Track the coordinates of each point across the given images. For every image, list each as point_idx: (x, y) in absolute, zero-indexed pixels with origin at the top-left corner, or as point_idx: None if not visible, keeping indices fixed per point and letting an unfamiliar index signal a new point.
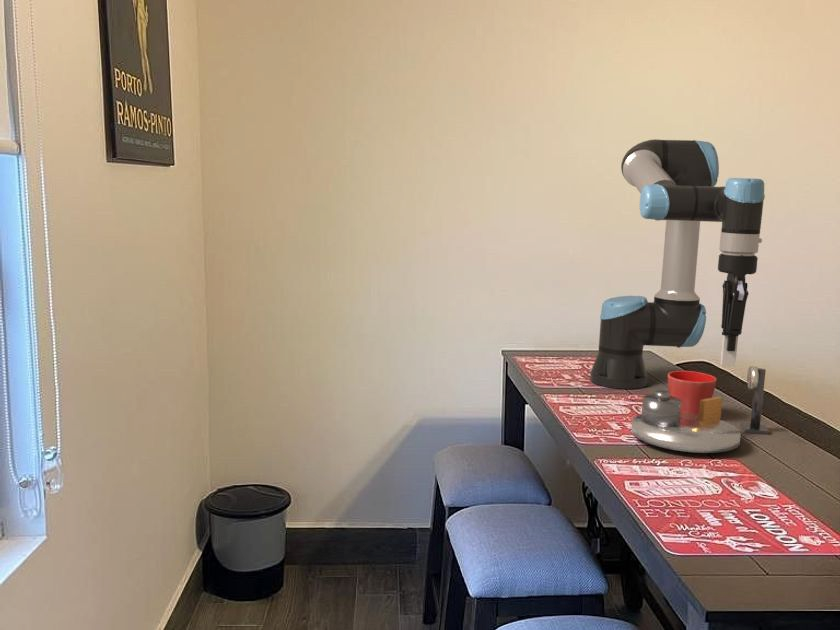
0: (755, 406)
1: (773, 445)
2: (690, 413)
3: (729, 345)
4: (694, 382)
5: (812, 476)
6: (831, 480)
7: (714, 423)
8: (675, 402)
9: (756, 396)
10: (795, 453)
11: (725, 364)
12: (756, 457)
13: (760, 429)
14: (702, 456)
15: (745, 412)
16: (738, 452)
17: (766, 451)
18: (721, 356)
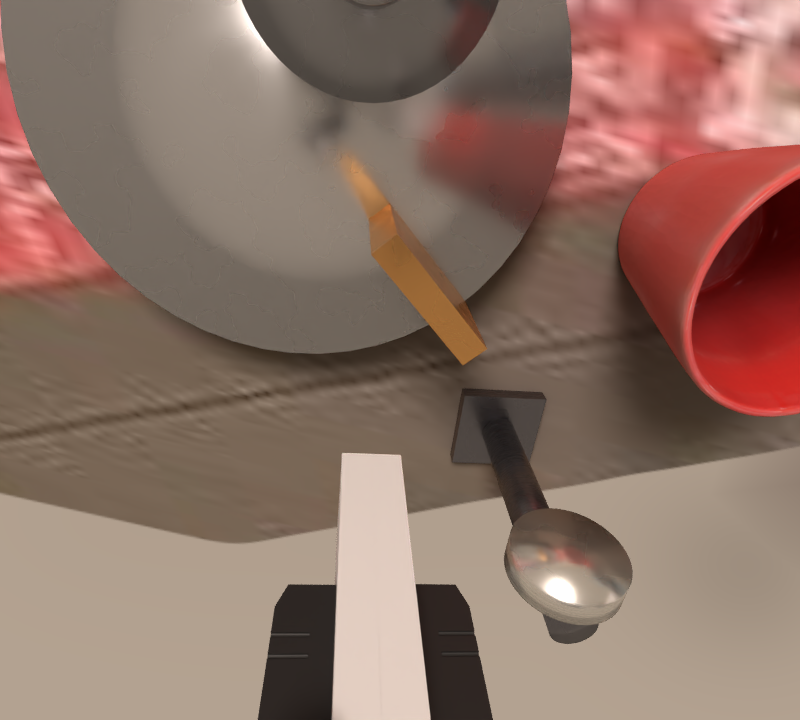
0: (506, 478)
1: (331, 436)
2: (631, 226)
3: (268, 650)
4: (693, 279)
5: (31, 459)
6: (18, 495)
7: (384, 276)
8: (299, 39)
9: (517, 509)
10: (260, 474)
11: (340, 482)
12: (171, 350)
13: (469, 440)
14: None
15: (708, 449)
16: None
17: (255, 399)
18: (391, 502)
